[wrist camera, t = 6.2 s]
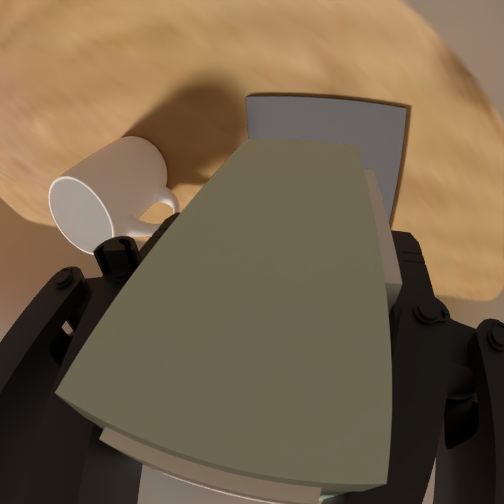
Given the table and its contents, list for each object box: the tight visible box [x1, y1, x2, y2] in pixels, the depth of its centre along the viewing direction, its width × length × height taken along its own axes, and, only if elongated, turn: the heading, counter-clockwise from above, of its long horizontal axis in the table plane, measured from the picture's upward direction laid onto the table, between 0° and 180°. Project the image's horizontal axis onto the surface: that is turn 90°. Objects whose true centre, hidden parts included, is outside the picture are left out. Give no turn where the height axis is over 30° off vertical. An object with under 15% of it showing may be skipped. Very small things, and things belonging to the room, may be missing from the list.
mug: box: [49, 136, 179, 255], centre depth 27 cm, size 9×12×11 cm
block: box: [55, 139, 392, 504], centre depth 8 cm, size 4×4×11 cm
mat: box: [245, 96, 407, 222], centre depth 26 cm, size 14×14×1 cm
